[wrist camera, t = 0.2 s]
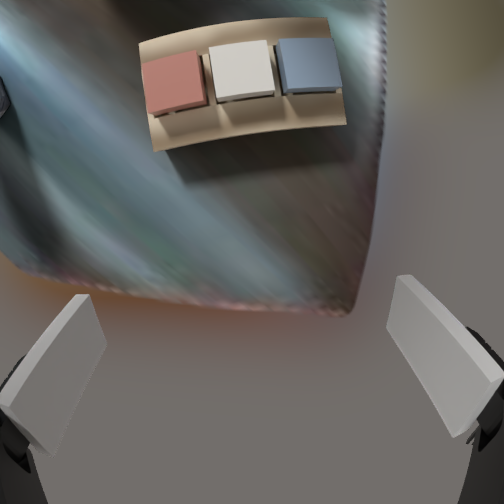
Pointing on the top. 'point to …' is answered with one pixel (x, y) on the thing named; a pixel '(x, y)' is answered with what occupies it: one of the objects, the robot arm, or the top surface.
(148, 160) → the top surface
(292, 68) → the blue key
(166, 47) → the frame
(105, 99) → the top surface
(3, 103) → the juice carton
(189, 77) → the red key
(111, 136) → the top surface
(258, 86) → the white key
